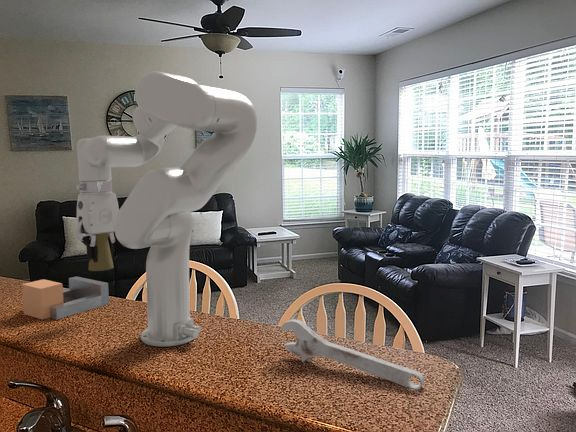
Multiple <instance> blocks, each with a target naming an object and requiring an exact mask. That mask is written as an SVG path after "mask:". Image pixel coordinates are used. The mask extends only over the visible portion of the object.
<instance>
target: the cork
mask: <svg viewBox="0 0 576 432" xmlns="http://www.w3.org/2000/svg"><path fill="white" fill-rule="evenodd" d="M109 234H110V232H108V233H107V232H106V233H102V234H95V236H96V240H95V246H97V250H98V255H97V256H98V261H97V262H94V261H93V259H91V260H90V262H89V261H88V269H87V270H88V271H90V272H101V271H102V272H103V271H108V270H111V269H114V262H113V259H112V256H111V252H110V246H109V242H108V237H109ZM89 238H90V236H89Z"/></svg>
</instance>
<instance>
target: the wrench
mask: <svg viewBox="0 0 576 432" xmlns="http://www.w3.org/2000/svg"><path fill="white" fill-rule="evenodd" d="M279 329H280V331H291V332H293V334H294V335H295V336H296V338H297V339H296V342H295V341H293V342H287V343H285V344H284V349H286V350H287V351H288V352H290V353H291V354H292V355H294V356H296V357H300V358H301V362H302V363H304V362H305V361H306V362H308V363H311V361H312V359H311V358H316V357H317V358H318V357H322V358H327V359H329V360H332V361H335V362H338V363H341V364H343V365H346V366H348V367H352V368H354V369H357V370H360V371H363V372H364V373H365V372H366V373H368V374H371V375H373V376H376V377H379V378H382V379H384V380H387V381H390V382H393V383H395V384H398V385H401V386H403V387H405V388H409V389H413V390H417V391H418V390H420V389H422V387H423V385H424V384H425V377H424V375H423V374H422V373H421V372H420V371H417V370H414V369H412V368H409V367H407V366H402V365H399V364H397V363H394V362H391V361H388V360H384V359H382V358H378V357H375V356H373V355H369V354H367V353H363V352H361V351H358V350H355V349H352V348H348V347H345V346H342V345H340V344H337V343H333V342H330V341H328V340H326V339H325V338H324V337H322V336H321V335H319V334H318V333H316V332H315V330H313V329H311V327H309V326H308V325H307V323H305V322H304V321H303V320H300V319H296V318H292V319H289V320H287V321H285V322H283V324H282V325H281V326H280V328H279ZM410 376H415V377H417V379H419V382H420V383H419V384H414V383H413V382H412V381H411V379H410Z"/></svg>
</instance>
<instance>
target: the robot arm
mask: <svg viewBox="0 0 576 432" xmlns="http://www.w3.org/2000/svg"><path fill="white" fill-rule="evenodd" d="M134 98H135V102H136V104H137V107H136V108H134V111H132V122H133V125H134V127H135V129H136V130H137V132H138V134H136V135H134V136H129V135H128V136H126V135H125V136H123V135H97V136H95V137H87V138H84V137H83V138H81V139H79V140H78V141H77V142H76V151H77V153H76V154H77V163H78V164H77V166H78V178H79V179H78V181H79V184H76V186H75V188H76V190H77V191H79V194H78V196H77V202H76V228H75V230H74V232H73V234H72V236H73V238H75V239H77V240H79V241H80V242H81V243H82V244H83V246H85V248H86V258H87V261H88V263H89V262H90V260H91V259H93V261H94V262H97V261H98V256H97V255H98V250H97V246H95V240H96V236H95V234H102V233H106V232H107V233H108V232H110V234H109V237H108V242H109V246H110V252H111V256H112V260H113V259H114V257H115V256H114V243H115V242H116V239H117V241H118V242H119V243H120V244H121V245H122V246H123V247H126V248H128V249H132V250H139V249H145V248H149V247H150V248H149V251H148V252H147V256H146V261H145V275H146V276H145V278H146V279H145V280H146V309H147V311H146V313H147V328H146V329H144V330H142V332H141V333H140V339H141V341H142V342H143V344H146V345H148V346H151V347H159V348H161V347H165V348H166V347H175V346H181V345H184V344H187V343H190V342H191V341H193V340H195V339H197V338H198V337H199V334H200V333H201V332H202V330H203V329H202V327H201V326H199V325H195V324H194V321H195V320H194V317H191V298H190V297H191V296H190V248H191V247H190V246H191V240H192V239H191V238H192V234H193V226H194V220H193V219H194V218H193V214H192V212H195V211H198V210H201V209H202V208H203V207H204V206H205V205H206V204H207V203H208V202H209V201H210V199H211V198H212V197H213V195H214V194H215V193H216V192H217V190H218V189H219V188H220V186H221V185H222V184H223V183H224V182H225V179H226V178H227V177H228V176H229V174H230V173H231V172H232V170H233V169H234V168H235V167H236V166H237V165H238V163H240V162H241V160H242V159H243V158H244V157H245V155H246V154H247V153H248V151H249V150H250V149H251V147H252V144H253V143H254V141H255V138H256V134H257V129H258V127H257V126H258V120H257V113H256V110H255V109H256V108H255V107H254V104H253V103H252V102H251V100H249V99H248V97H247V96H245V95H244V94H242V93H240V92H238V91H235V90H230V89H226V88H222V87H221V88H220V87H214V86H210V85H204V84H199V83H198V82H196V81H195V80H194V79H192V78H189V77H188V76H185V75H180V74H175V73H171V72H170V73H169V72H163V71H159V70H157V71H156V70H153V71H149V72H147V73H145V74H143V75H142V76H141V77H140V78H139V79H138V81H137V83H136V86H135V89H134ZM178 127H180V128H183V129H187V130H191V131H198V132H199V131H200V132H212V134H211V135H210V136H209V137H207V138H206V139H205V140H202V142H200V143H199V145H197V146H196V147H195V149H194V150H193V151H192V152H191V155H190V156H189V157H188V158H187V160H186V161H185V162H184V163H183V164H181V165H179V166H175V167H158V168H154V169H151V170H149V171H148V172H146V173H145V174H143V175H142V176H141V177H140V179H139V180H138V181H137V183H136V184H135V186H134V187H133V189H132V190H131V192H130V193H129V194H128V196H127V198H125V200H124V202H123V204H122V205H121V206H120V208H119V201H118V197H117V195H116V193H115V192H113V183H112V179H113V178H112V168H136V167H140V166H143V165H144V164H146V163H148V162H149V161H151V160H152V159H153V158H155V157H157V155H159V153H161V151H162V148H163V145H164V143H165V137H166V136H168V134H170V133H171V132H173V131H174V130H175V129H177V128H178ZM213 132H214V133H213ZM89 236H90V238H89Z"/></svg>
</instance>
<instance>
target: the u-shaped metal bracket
mask: <svg viewBox="0 0 576 432" xmlns="http://www.w3.org/2000/svg"><path fill="white" fill-rule="evenodd" d="M109 294H110V293H109V282H105V281H101V280H95V279H91V278H86V277H81V276H74V277H73V276H72V277H69V278H68V288H66V289H64V288H63V304H59V305H56V306H52V307H50V312H51V317H50V319H51V318H53V319H52V320H55V319H56V321H58V319H59V320H61V318H62V319H65V318H67V316H68V317H71V316H74V314H75V315H77V313H78V314H80V313H83V312H86V311H87V312H88V311H89V310H93V309H96V308H100V307H102V306H103V307H104V306H105V305H106V306H107V305H108V304H110V299H109V298H110V296H109ZM64 302H65V303H64ZM64 317H65V318H64Z"/></svg>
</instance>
